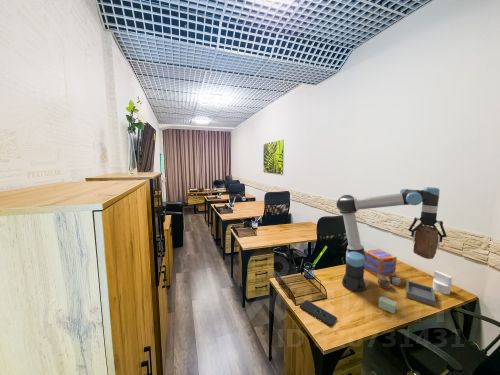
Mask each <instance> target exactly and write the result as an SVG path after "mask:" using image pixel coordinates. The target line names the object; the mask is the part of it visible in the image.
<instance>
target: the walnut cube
mask: <svg viewBox="0 0 500 375" xmlns="http://www.w3.org/2000/svg"><path fill="white" fill-rule="evenodd" d="M377 283H378V285H379V288H383V289H384V288H385V289H389V290H390V287H391V279H390V277H388V276H382V275H379V276H378V277H377Z"/></svg>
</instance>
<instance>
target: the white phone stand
mask: <svg viewBox="0 0 500 375" xmlns="http://www.w3.org/2000/svg"><path fill="white" fill-rule="evenodd" d="M433 273H434V274H433V278H432V288H433V291H436V292H437V293H440V294H443V295H450V294H451V289H452V280H453V276H450V275H449V274H446V273H444V272H441V271H440V270H434V272H433Z"/></svg>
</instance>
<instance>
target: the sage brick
mask: <svg viewBox="0 0 500 375" xmlns="http://www.w3.org/2000/svg"><path fill="white" fill-rule="evenodd" d="M377 307H378V308H380V309H382V310H385V311H387V312H390V313H391V314H393V315H394V314H395V312H396V309H397V301H395V300H392V299H390V298H387V297H385V296H382V295H380V297H379V299H378V306H377Z"/></svg>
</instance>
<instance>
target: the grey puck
mask: <svg viewBox="0 0 500 375" xmlns="http://www.w3.org/2000/svg"><path fill="white" fill-rule="evenodd" d="M391 277H392V278H391V283H392V285H394V286H399V287H400V286H401V282H402V281H401V280H402V279H401V278H399V277H396V276H391Z"/></svg>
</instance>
